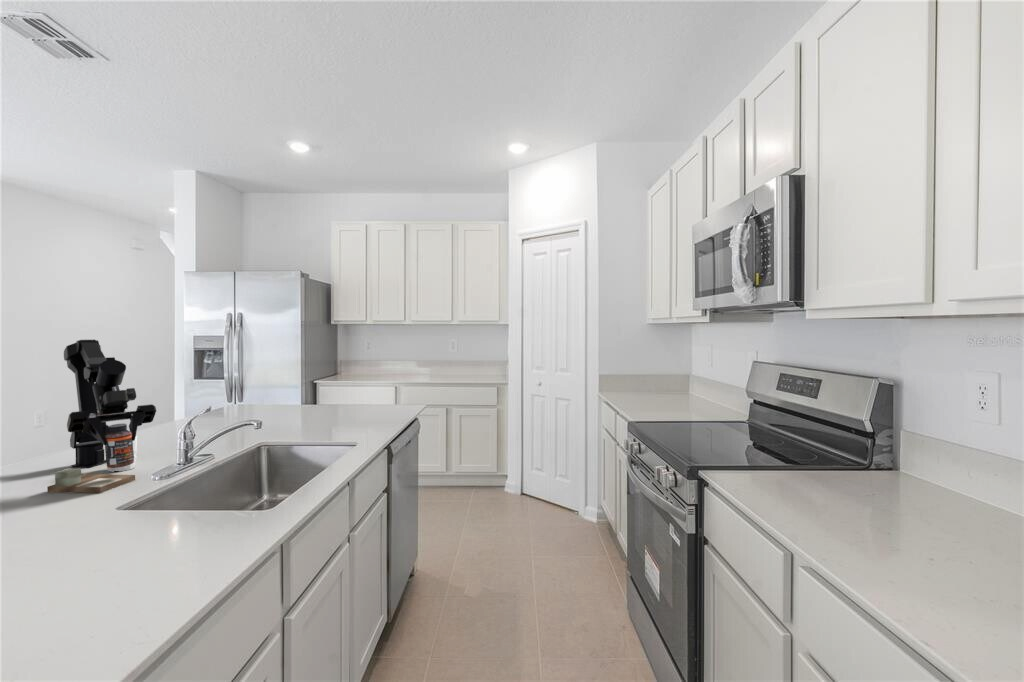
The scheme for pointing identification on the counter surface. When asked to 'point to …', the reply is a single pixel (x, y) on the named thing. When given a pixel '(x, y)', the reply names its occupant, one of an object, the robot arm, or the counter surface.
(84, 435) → the robot arm
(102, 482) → the board
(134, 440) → the white cup
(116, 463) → the supplement bottle
